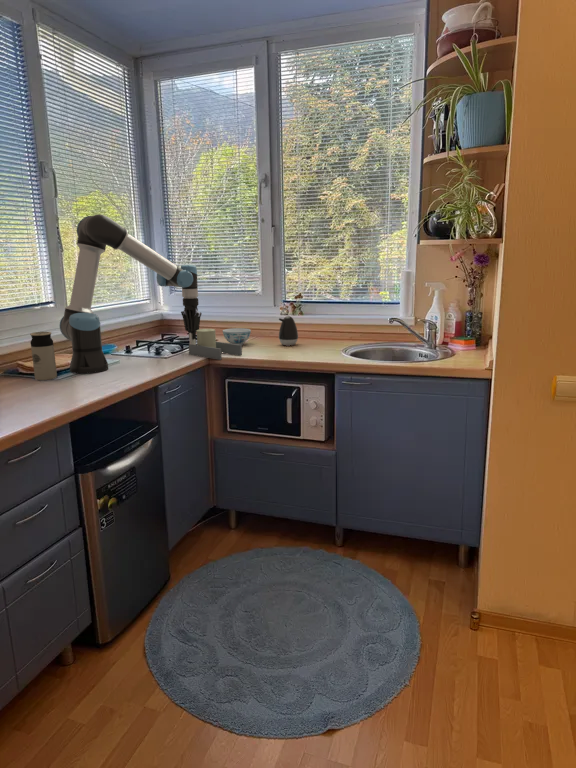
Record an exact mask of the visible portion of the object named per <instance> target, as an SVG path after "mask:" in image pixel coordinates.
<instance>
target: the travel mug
mask: <svg viewBox="0 0 576 768" xmlns="http://www.w3.org/2000/svg"><path fill="white" fill-rule="evenodd" d="M30 336H31V341H30V350H31V356H32V365H33V371H34V372H33V373H34V379H35V380H37V381H42V382H43V381H51V380H54V379H56V378H58V373H57V363H56V356H55V347H54V346H55V345H54V340H53V339H52V337H51V336H52V332H51V331H35V332H31V333H30Z"/></svg>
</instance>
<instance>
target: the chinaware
mask: <svg viewBox="0 0 576 768" xmlns="http://www.w3.org/2000/svg"><path fill="white" fill-rule="evenodd" d="M251 332H252V330H251V329H250V328H243V327H242V328H241V327H237V328H236V327H233V328H232V327H231V328H226V329H222V335H223V337H224V339H225V340H226V341H227V343H231V344H238V345H242V346H244V343H246V341H247V340H248V339H249V337H250V335H251V334H252V333H251Z"/></svg>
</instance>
